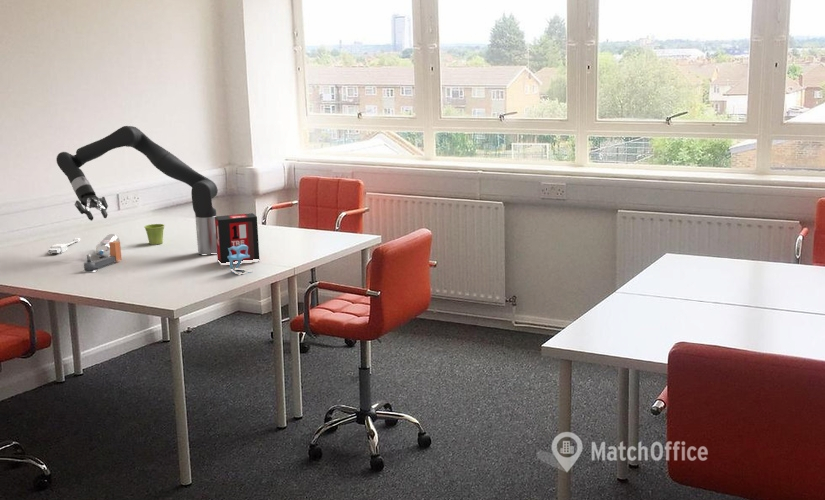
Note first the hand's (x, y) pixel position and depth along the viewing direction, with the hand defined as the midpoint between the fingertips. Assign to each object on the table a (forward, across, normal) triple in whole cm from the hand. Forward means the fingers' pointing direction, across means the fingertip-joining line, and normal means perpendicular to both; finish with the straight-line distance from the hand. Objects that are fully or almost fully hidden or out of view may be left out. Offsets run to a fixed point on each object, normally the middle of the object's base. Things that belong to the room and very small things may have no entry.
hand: (99, 218), depth 396 cm
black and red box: (+51, +34, -25) cm, 66 cm away
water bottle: (-1, +14, +22) cm, 27 cm away
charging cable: (-11, 0, +38) cm, 39 cm away
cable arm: (+22, -8, +2) cm, 24 cm away
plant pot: (+8, +32, +19) cm, 38 cm away
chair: (+62, +23, -36) cm, 75 cm away
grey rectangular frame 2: (+21, -4, +5) cm, 22 cm away
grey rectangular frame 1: (+22, -10, +4) cm, 24 cm away
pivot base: (+25, -16, +1) cm, 29 cm away
